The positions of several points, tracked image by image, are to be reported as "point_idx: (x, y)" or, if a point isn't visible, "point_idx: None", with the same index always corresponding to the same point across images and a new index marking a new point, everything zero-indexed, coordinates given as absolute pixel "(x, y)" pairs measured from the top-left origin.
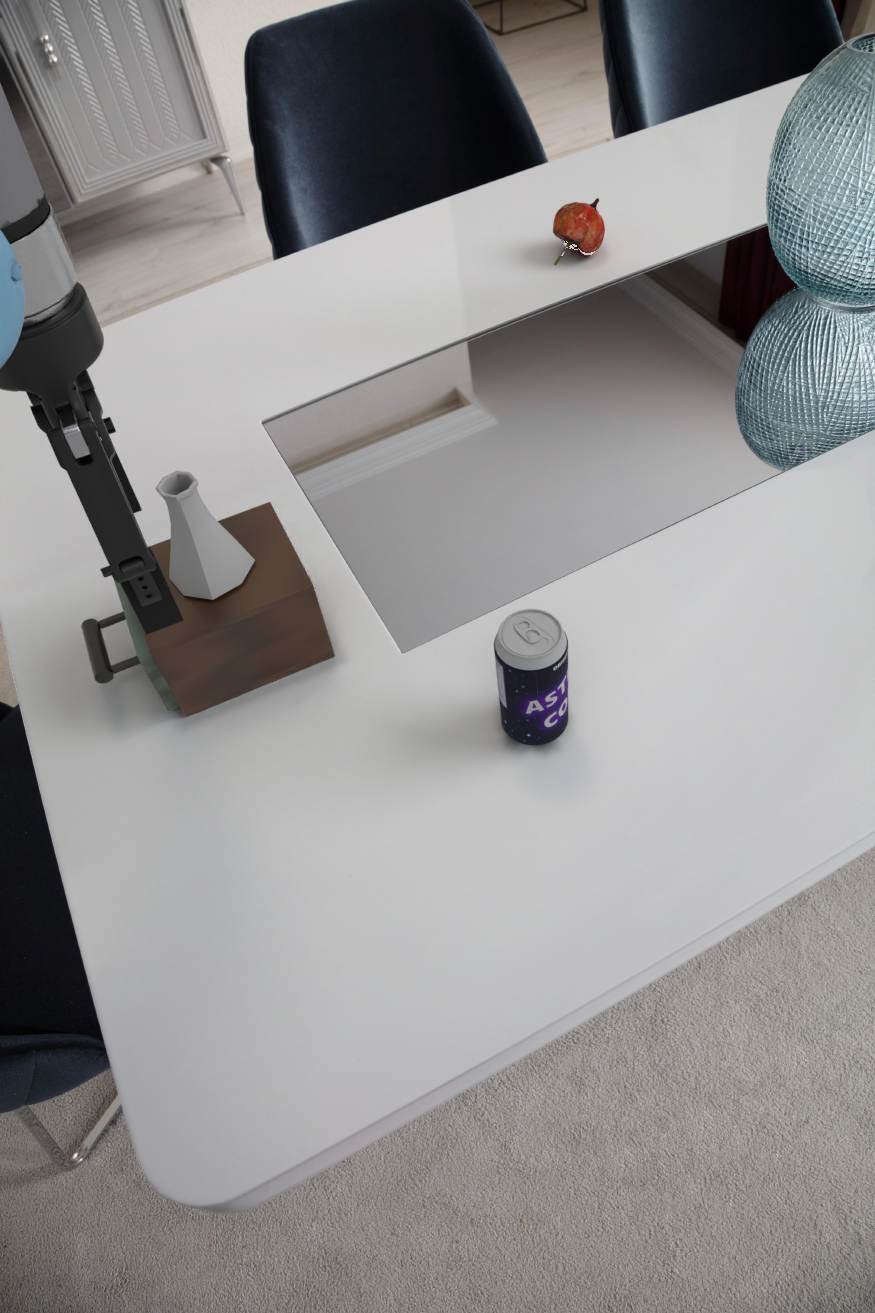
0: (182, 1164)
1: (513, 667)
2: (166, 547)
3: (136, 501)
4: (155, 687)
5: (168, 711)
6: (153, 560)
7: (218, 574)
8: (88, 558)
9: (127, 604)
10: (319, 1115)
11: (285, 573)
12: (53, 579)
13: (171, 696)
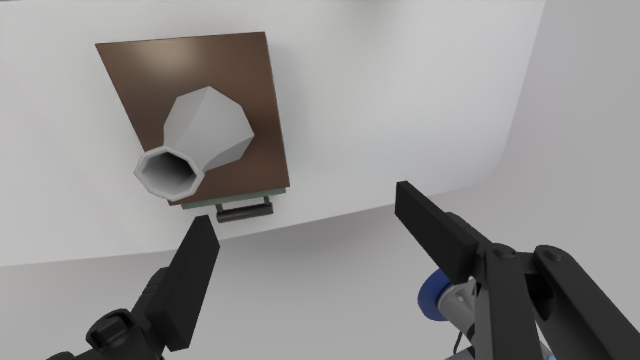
0: (483, 174)
1: None
2: None
3: (204, 225)
4: None
5: None
6: (562, 254)
7: (239, 127)
8: (106, 211)
9: (226, 198)
10: (503, 125)
11: (236, 57)
12: (129, 231)
13: None
